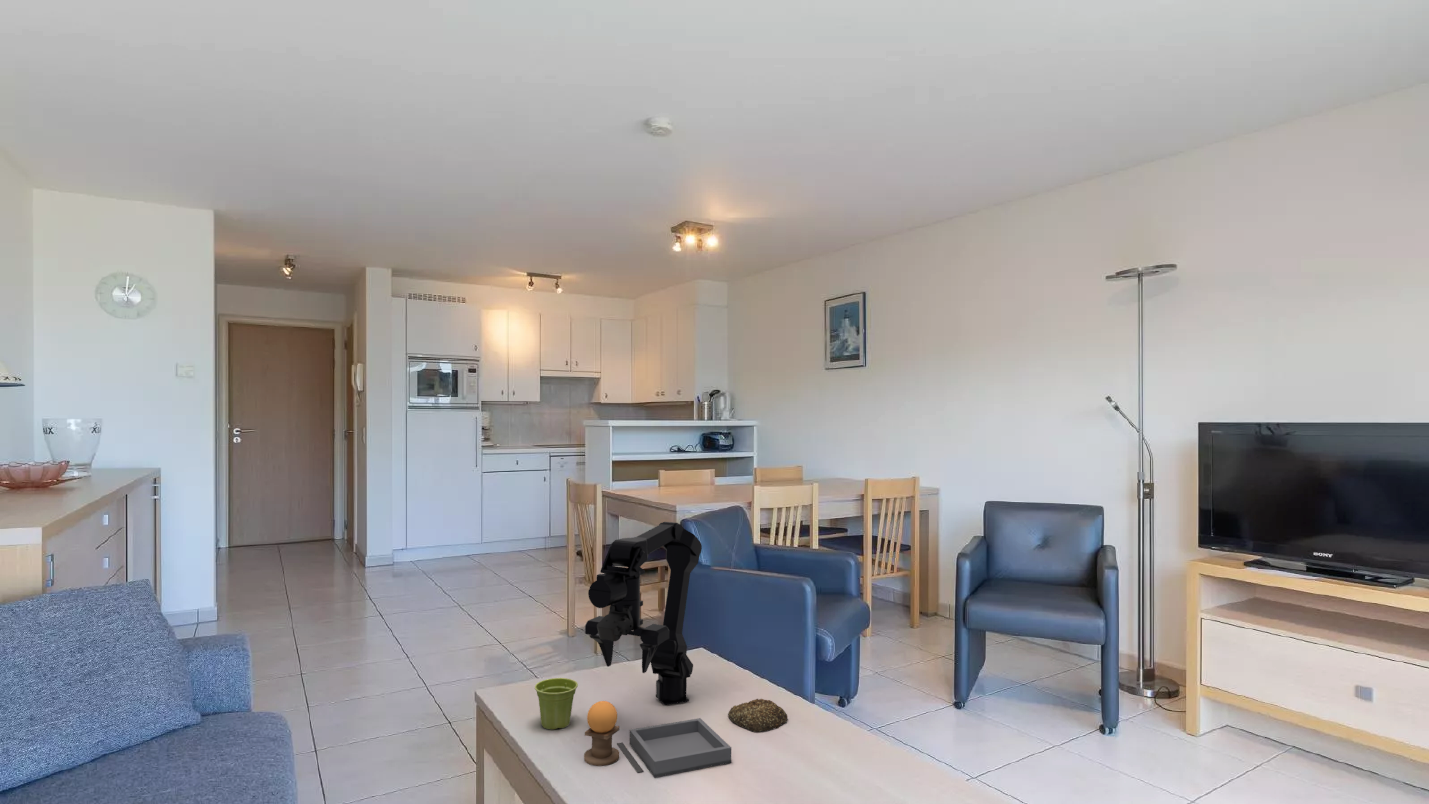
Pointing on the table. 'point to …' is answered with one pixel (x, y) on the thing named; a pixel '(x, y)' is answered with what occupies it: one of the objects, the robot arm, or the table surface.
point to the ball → (602, 717)
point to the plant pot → (555, 701)
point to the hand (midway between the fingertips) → (626, 669)
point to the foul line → (630, 757)
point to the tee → (601, 748)
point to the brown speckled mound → (758, 715)
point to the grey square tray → (679, 747)
